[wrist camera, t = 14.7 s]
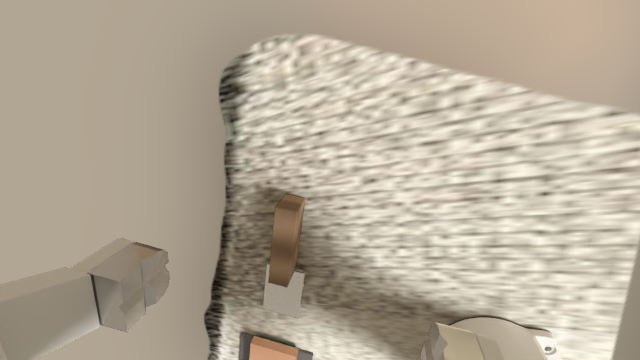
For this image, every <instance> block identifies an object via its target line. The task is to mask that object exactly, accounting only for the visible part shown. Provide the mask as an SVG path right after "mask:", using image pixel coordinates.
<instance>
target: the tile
mask: <svg viewBox="0 0 640 360" xmlns="http://www.w3.org/2000/svg"><path fill="white" fill-rule="evenodd" d="M297 356H298V348H295V347H292V346H288V345H285V344H281V343H278V342H275V341H271V340H268V339H265V338H261V337H258V336H254V337H253V339H252V341H251V344H250V358H249V360H297Z"/></svg>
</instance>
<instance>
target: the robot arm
mask: <svg viewBox="0 0 640 360" xmlns="http://www.w3.org/2000/svg"><path fill="white" fill-rule="evenodd" d="M167 262H168V252H166V251H164V250H162V249H158V248H155V247H152V246H149V245H145V244H141V243H138V242H134V241H130V240H127V239H124V238H121V239H116V240H114V241H113V242H111V243H110V244H108V245H106V246H105V247H103V248H102V249H100V250H98V251H97V252H95V253H93V254H92V255H90V256H89V257H88V258H86V259H84V260H82V261H81V262H79V263H78V264H76V265H74V266H73V267H71V268H66V267H64V268H60V269H57V270H53V271H49V272H45V273H42V274H38V275H35V276H30V277H27V278H23V279H19V280H16V281H12V282H8V283H5V284H1V285H0V360H36V359H38V358H40V357H42V356H43V355H46V354H48V353H50V352H52V351H54V350H55V349H57V348H59V347H61V346H63V345H65V344H67V343H69V342H71V341H73V340H75V339H77V338H79V337H81V336H83V335H85V334H87V333H89V332H91V331H93V330H95V329H96V328H99V327H100V325H102V326H106V327H110V328H113V329H117V330H120V331H124V332H128V331H129V330H130V329H131V328H132V327H133V326H134V325H135V324H136V323H137V322H138V321H139V320H140V319H141V318H142V317H143V316H144V315H145V312H146V307H148V306H150V305H153V304H155V303H157V302H158V301H159V299H160V298H161V297H162V296H163V295H164V293H165V291H166V289H167V287H168V284H169V272H168V270H167V269H166V267H165V264H167ZM429 336H430V341H428V342H426V343H424V346H423V349H422V351H421V357H420V360H562V358H561V355H560V352H559V348H558V345H557V342H556V340H555V338H554V336H553V334H552V333H550V332H548V331H543V330H536V329H527V328H524V327H521V326H519V325H516V324H514V323H511V322H509V321H505V320H501V319H496V318H485V317H482V318H471V319H466V320H462V321H459V322H456V323H454V324H452V325H450V326H448V325H444V324H440V323H437V322H434V323H433V324H432V325H431V328H430V330H429Z"/></svg>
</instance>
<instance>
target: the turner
mask: <svg viewBox="0 0 640 360" xmlns="http://www.w3.org/2000/svg"><path fill="white" fill-rule="evenodd" d="M304 204H305V198H303V197H298V196H294V195H289V194H285V195H284V197H283V198H282V199H281V201H280V202H279V203H278V204H277V206H276V207H275V215H274V226H273V236H272V247H271V258H270V261H268V263H267V267H266V279H265V290H264V301H263V309H266V310H270V311H273V312H277V313H280V314H284V315H288V316H291V317H295V318H298V317H299V313H300V306H301V300H302V293H303V287H304V280H305V273H306V271H305V270H301V269H297V268H296V263H297V256H298V248H299V241H300V234H301V226H302V219H303V211H304Z"/></svg>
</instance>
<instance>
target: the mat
mask: <svg viewBox="0 0 640 360" xmlns="http://www.w3.org/2000/svg"><path fill="white" fill-rule="evenodd" d="M253 337H254V336H253V335H250V334H247V333H243V332H242V334H241V349H240V360H249V358H250V344H251V341H252V339H253ZM312 357H313V353H311V352H307V351H304V350H301V349H298V356H297V360H312Z"/></svg>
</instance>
